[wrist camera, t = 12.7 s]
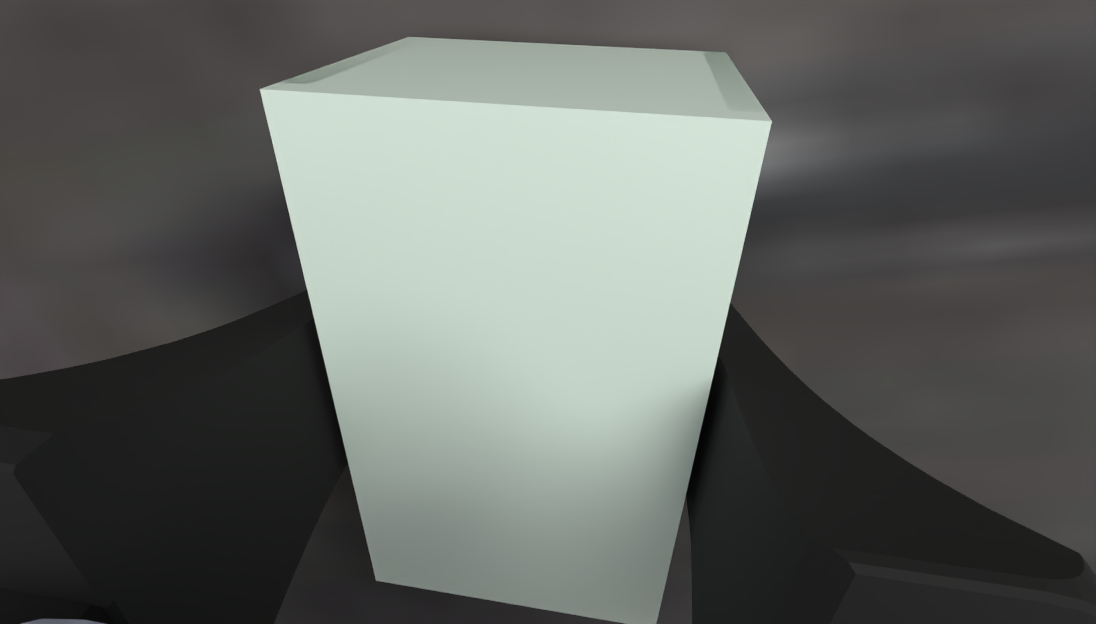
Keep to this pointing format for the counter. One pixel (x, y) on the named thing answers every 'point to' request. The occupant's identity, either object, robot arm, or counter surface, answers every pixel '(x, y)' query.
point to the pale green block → (521, 300)
